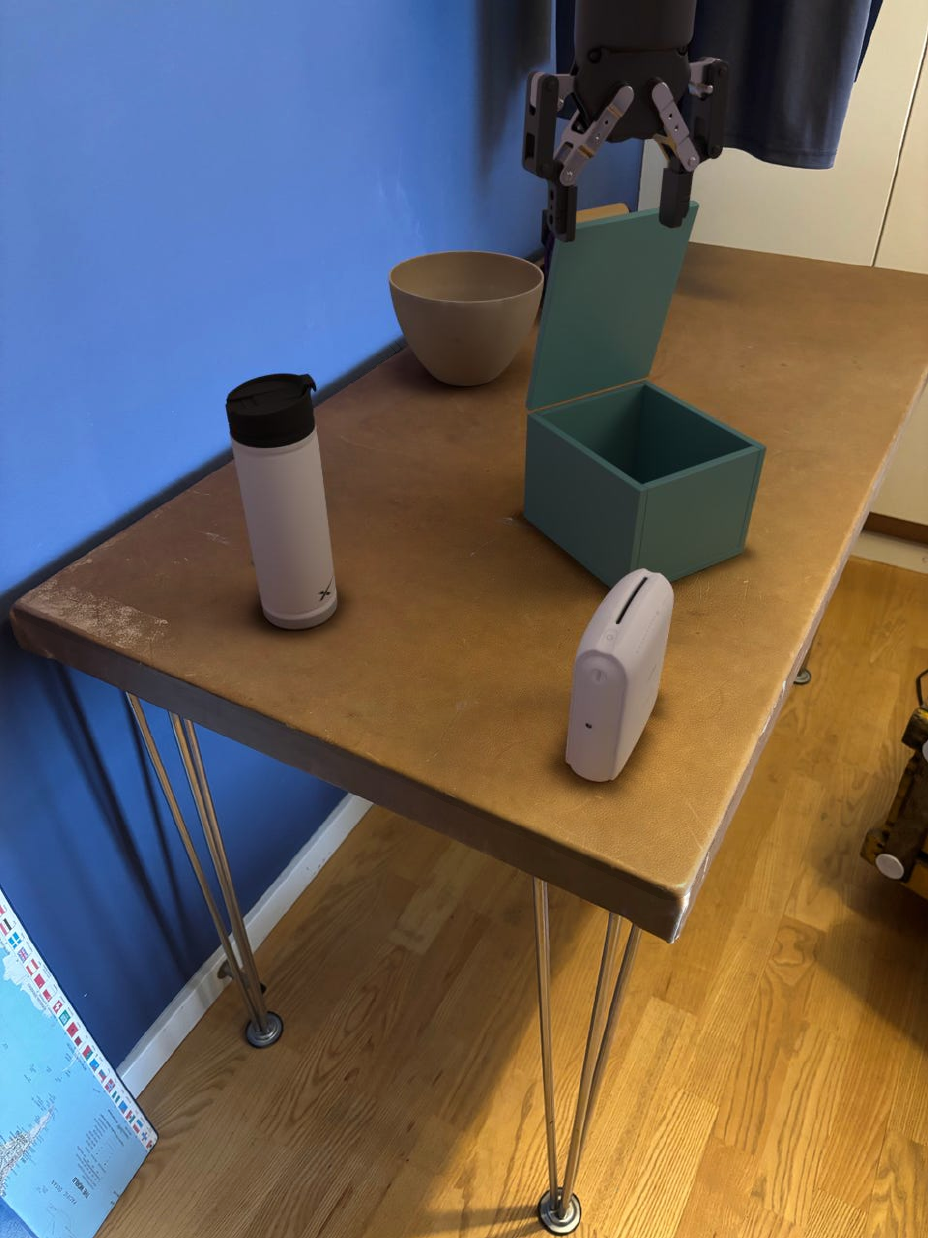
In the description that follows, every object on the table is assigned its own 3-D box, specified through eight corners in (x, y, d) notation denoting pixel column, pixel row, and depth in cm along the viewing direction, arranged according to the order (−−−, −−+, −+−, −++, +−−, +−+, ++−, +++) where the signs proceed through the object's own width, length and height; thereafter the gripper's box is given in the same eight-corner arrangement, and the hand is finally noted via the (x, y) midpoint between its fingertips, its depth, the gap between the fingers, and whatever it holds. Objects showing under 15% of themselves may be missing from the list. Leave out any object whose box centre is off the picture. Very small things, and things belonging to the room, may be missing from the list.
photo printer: (615, 793, 61) (636, 654, 53) (556, 771, 63) (568, 633, 55) (663, 698, 68) (688, 563, 60) (609, 680, 70) (626, 546, 62)
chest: (743, 553, 83) (767, 446, 76) (625, 601, 77) (640, 491, 70) (633, 478, 93) (645, 379, 86) (522, 516, 88) (526, 413, 81)
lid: (700, 204, 73) (659, 175, 76) (563, 231, 68) (524, 199, 71) (648, 376, 86) (615, 347, 89) (529, 411, 80) (498, 378, 83)
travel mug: (350, 619, 76) (325, 395, 63) (272, 638, 74) (230, 411, 61) (330, 577, 80) (303, 360, 68) (256, 595, 78) (214, 375, 66)
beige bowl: (469, 419, 104) (468, 313, 96) (364, 374, 113) (356, 274, 106) (568, 371, 114) (575, 272, 106) (464, 333, 123) (463, 240, 116)
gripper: (558, -38, 51) (549, 259, 61) (774, -49, 55) (732, 233, 65) (508, -42, 57) (507, 231, 67) (706, -52, 60) (677, 208, 70)
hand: (617, 232), depth 66 cm, fingers open, 8 cm apart
